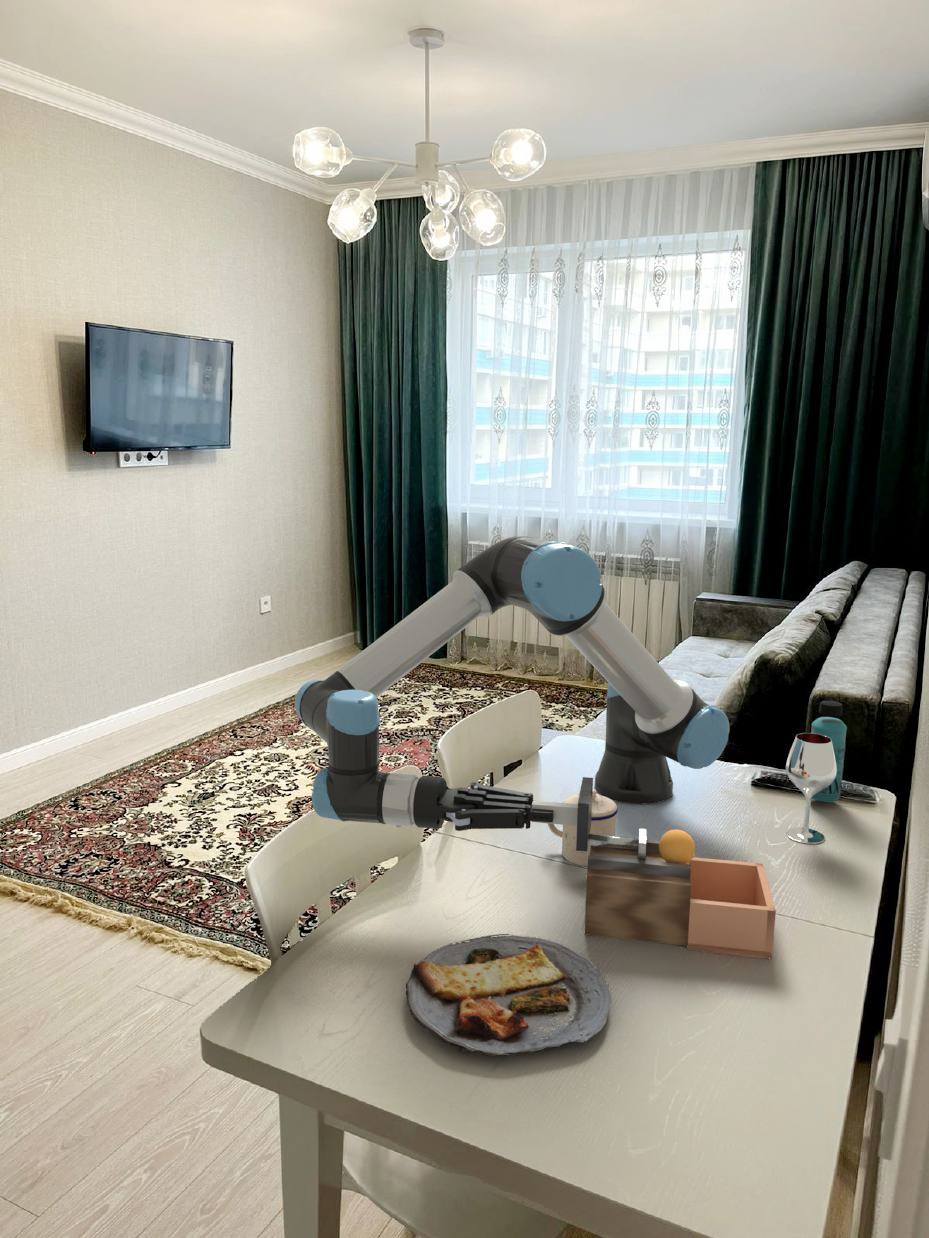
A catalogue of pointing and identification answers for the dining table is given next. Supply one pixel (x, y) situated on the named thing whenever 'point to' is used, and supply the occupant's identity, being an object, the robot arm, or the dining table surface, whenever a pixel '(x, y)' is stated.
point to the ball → (677, 847)
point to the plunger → (601, 840)
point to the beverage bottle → (837, 734)
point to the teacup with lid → (600, 825)
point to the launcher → (637, 895)
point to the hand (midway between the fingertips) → (577, 814)
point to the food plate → (507, 994)
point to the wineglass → (810, 776)
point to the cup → (730, 908)
